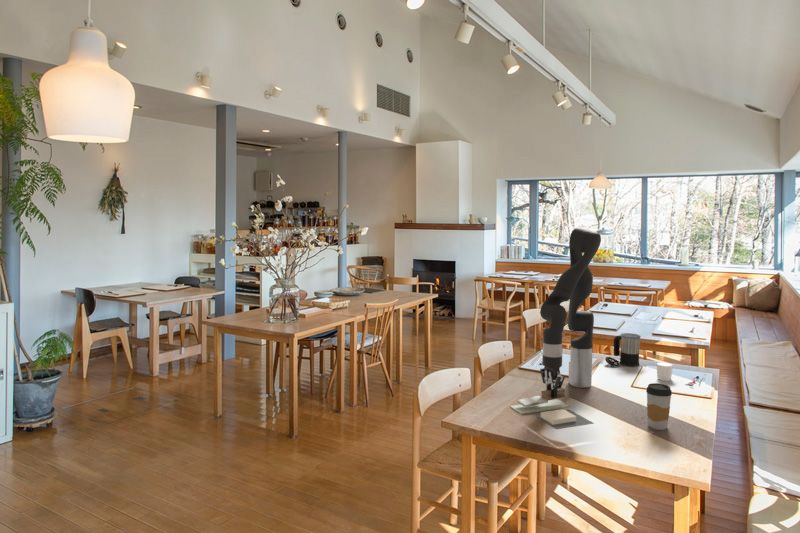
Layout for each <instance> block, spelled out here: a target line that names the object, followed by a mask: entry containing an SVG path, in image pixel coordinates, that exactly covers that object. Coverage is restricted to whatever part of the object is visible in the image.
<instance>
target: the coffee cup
mask: <svg viewBox="0 0 800 533" xmlns="http://www.w3.org/2000/svg"><path fill="white" fill-rule="evenodd" d="M645 392H646V402H647V403H646V411H647V414H646V416H647V425H648V427H649V428H650V429H652V430H656V431H665V430H666V429H667V428H668V424H669V418H670V409H671V399H672V390H671V386H670V385H667V384H664V383H655V382H653V383H649V384H648V385H647V387H646V391H645Z"/></svg>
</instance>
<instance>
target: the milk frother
mask: <svg viewBox="0 0 800 533" xmlns="http://www.w3.org/2000/svg"><path fill="white" fill-rule="evenodd" d="M641 337H642V336H641V335H640V334H638V333H631V332H630V333H629V332H628V333H627V332H625V333H621V334H619V335H616V336H615V337H614V338H613V355H614V356H615V357H617V356H620V357H619V360H617V359H616V358H614V357H611V356H606V357H605V358H604V360H605V362H606V363H607V364H609V365H610V366H611V367H620V365H622V366H625V367H639V366H640V349H641V348H640V346H641Z"/></svg>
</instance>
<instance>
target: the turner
mask: <svg viewBox="0 0 800 533" xmlns="http://www.w3.org/2000/svg"><path fill="white" fill-rule="evenodd" d="M540 394H541V395H534V396H530V397H526V398H519V399H517V400H516V402H517V403H518V405H522V406H524V407H530V406H535V405H539V404H543V403H548V401H549V400H557V399H560V398H565V397H566V393H565V388H564V387H563V386H562V387H561V388H560V389H557V398H551V389H550V390H545V389H544V390H542V391H541V393H540Z"/></svg>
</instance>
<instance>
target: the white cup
mask: <svg viewBox="0 0 800 533" xmlns="http://www.w3.org/2000/svg"><path fill="white" fill-rule="evenodd" d="M673 368H674V364H672V363H670V362H664V361H659V362H656V378H657V380H659V379H660V381H664V380H665V381H667V382H669V381H672V375H673ZM665 381H664V382H665Z"/></svg>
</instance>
